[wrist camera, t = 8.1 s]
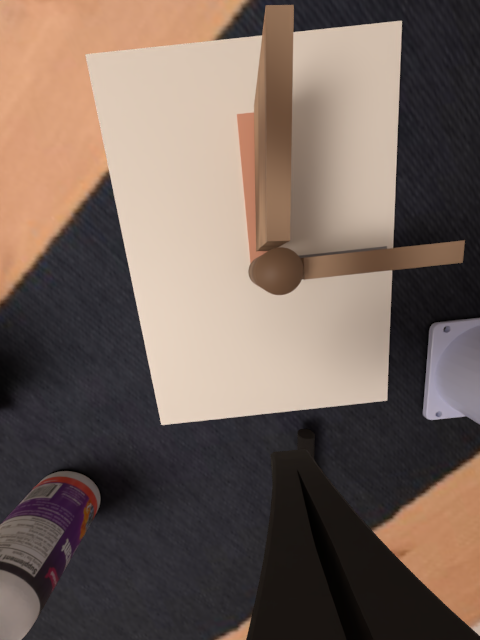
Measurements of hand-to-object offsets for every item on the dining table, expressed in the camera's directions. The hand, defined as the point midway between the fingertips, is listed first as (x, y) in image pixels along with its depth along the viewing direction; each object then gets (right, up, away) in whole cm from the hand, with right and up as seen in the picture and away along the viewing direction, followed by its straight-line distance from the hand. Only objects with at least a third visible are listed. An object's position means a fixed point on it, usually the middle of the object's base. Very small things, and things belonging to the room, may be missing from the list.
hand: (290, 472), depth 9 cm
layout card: (0, +10, +7) cm, 12 cm away
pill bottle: (-16, -9, +11) cm, 22 cm away
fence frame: (+4, +10, +7) cm, 12 cm away
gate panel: (-1, +14, +5) cm, 15 cm away
